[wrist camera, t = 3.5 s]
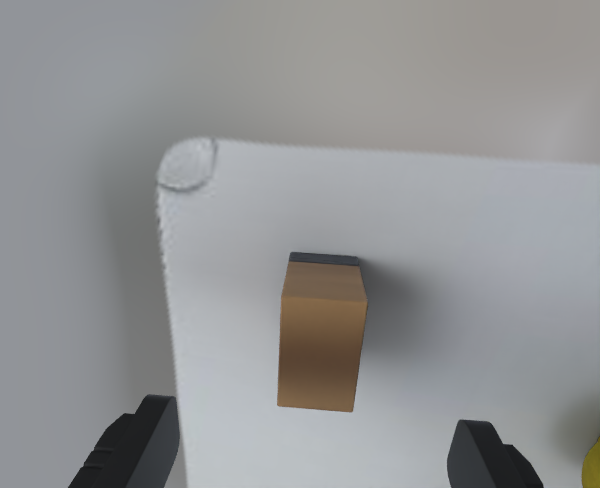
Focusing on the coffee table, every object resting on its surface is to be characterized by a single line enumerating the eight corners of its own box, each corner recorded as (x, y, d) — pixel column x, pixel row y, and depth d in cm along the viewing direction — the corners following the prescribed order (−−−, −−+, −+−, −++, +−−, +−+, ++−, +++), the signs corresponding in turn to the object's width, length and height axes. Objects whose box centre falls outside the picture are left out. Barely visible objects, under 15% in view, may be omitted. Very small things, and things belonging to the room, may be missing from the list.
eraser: (290, 251, 16) (281, 296, 12) (357, 256, 16) (368, 302, 12) (286, 343, 18) (276, 406, 14) (346, 348, 18) (353, 413, 14)
